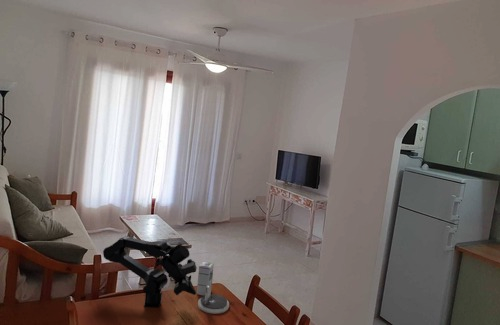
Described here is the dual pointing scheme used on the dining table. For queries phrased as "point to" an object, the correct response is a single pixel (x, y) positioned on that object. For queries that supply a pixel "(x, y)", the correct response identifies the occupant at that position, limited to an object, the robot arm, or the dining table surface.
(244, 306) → the dining table surface
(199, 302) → the base
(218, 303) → the dial
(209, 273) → the syrup box
